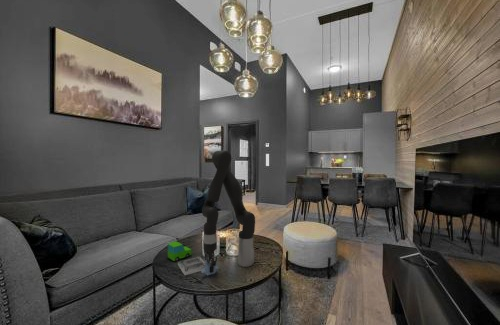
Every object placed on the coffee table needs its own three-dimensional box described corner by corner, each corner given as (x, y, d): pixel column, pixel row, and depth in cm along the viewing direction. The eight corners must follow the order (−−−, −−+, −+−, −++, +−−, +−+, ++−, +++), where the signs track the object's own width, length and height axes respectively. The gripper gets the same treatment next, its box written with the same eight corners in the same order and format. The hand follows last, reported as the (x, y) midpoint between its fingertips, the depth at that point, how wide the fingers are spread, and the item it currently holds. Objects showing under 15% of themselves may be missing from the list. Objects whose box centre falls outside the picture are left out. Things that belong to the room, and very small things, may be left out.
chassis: (199, 259, 141) (199, 254, 141) (207, 268, 129) (207, 263, 129) (177, 265, 133) (178, 259, 133) (184, 275, 121) (184, 269, 121)
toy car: (192, 256, 145) (193, 242, 145) (174, 263, 135) (174, 247, 135) (184, 252, 152) (185, 238, 152) (166, 258, 142) (167, 243, 142)
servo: (216, 269, 126) (216, 259, 126) (219, 271, 123) (219, 262, 123) (200, 273, 121) (200, 264, 121) (202, 276, 118) (202, 267, 118)
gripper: (221, 243, 118) (221, 274, 118) (211, 235, 130) (211, 263, 130) (208, 246, 114) (208, 278, 114) (199, 238, 126) (199, 267, 126)
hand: (210, 270), depth 122 cm, fingers closed on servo, 3 cm apart
